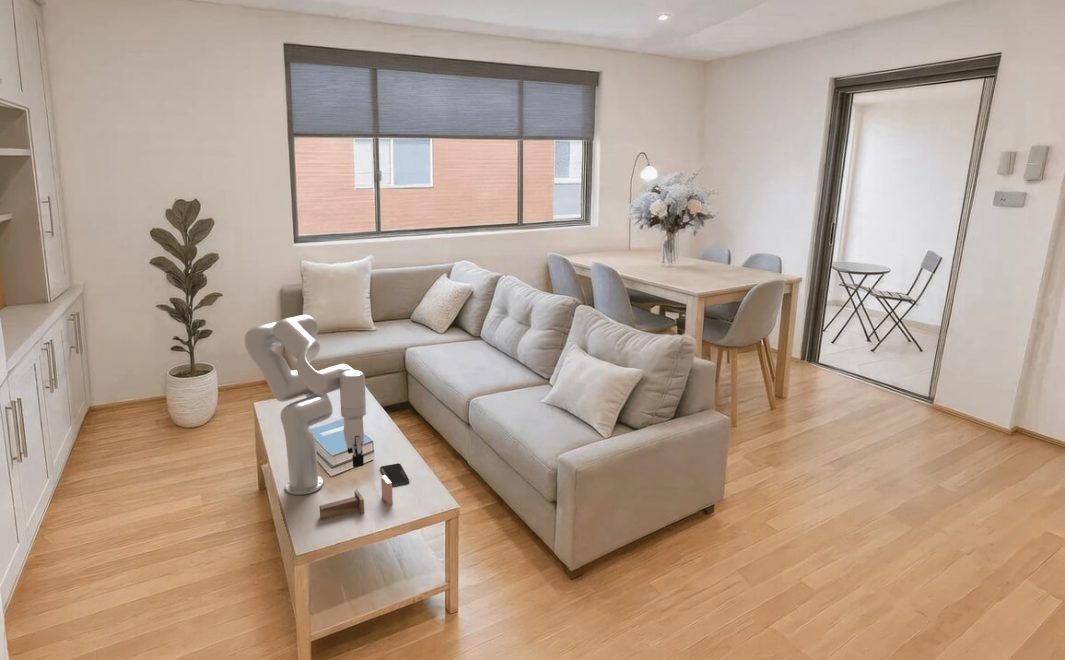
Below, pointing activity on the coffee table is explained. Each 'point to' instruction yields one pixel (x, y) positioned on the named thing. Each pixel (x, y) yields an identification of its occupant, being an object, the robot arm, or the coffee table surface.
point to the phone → (395, 474)
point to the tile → (386, 490)
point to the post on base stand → (342, 506)
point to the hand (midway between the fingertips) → (355, 459)
